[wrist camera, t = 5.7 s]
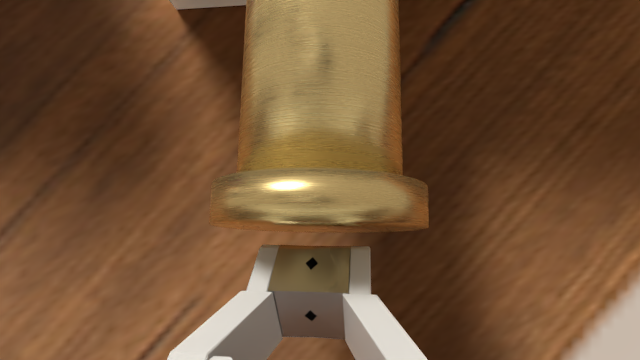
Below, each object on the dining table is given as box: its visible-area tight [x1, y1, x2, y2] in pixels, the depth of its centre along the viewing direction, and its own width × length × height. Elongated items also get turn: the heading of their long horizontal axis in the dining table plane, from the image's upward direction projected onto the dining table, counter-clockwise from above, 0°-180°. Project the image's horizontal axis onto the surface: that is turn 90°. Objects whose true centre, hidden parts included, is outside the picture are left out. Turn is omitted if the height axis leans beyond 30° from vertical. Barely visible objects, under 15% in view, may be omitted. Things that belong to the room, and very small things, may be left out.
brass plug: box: [209, 0, 429, 233], centre depth 11 cm, size 13×6×6 cm, turn 179°
